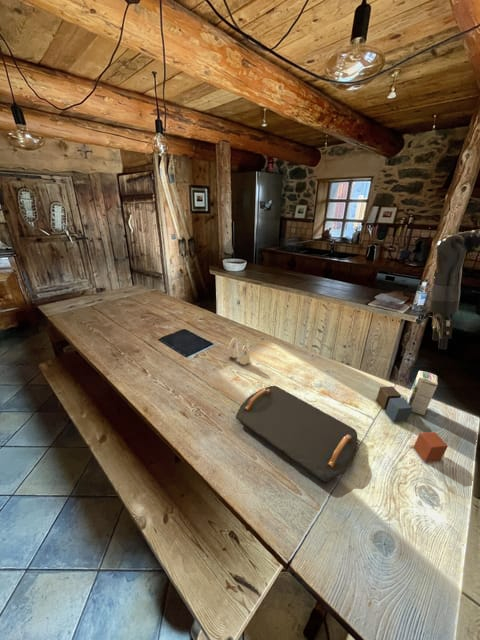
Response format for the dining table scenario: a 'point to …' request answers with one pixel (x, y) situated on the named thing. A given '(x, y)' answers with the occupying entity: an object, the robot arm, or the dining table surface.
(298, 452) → the serving tray
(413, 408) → the syrup box
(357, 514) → the dining table surface
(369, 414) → the dining table surface
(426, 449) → the terracotta block
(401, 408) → the slate blue block
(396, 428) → the dining table surface
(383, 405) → the walnut block
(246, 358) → the shaker set
